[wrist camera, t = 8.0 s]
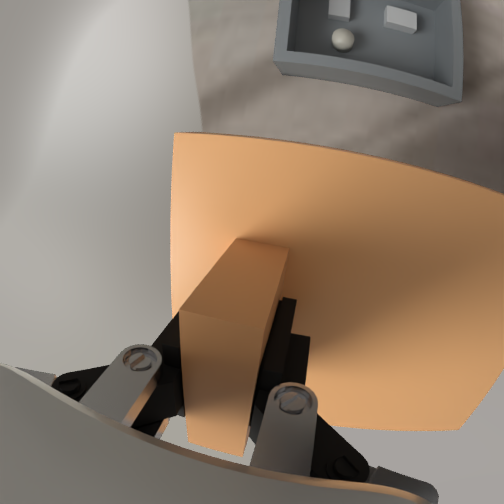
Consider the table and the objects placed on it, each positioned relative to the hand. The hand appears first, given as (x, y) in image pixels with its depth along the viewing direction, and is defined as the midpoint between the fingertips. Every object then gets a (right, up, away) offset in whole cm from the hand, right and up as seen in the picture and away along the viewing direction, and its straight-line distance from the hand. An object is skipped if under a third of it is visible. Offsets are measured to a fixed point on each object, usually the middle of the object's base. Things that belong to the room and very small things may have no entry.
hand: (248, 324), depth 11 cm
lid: (+6, 0, +2) cm, 6 cm away
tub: (+11, +24, +11) cm, 29 cm away
